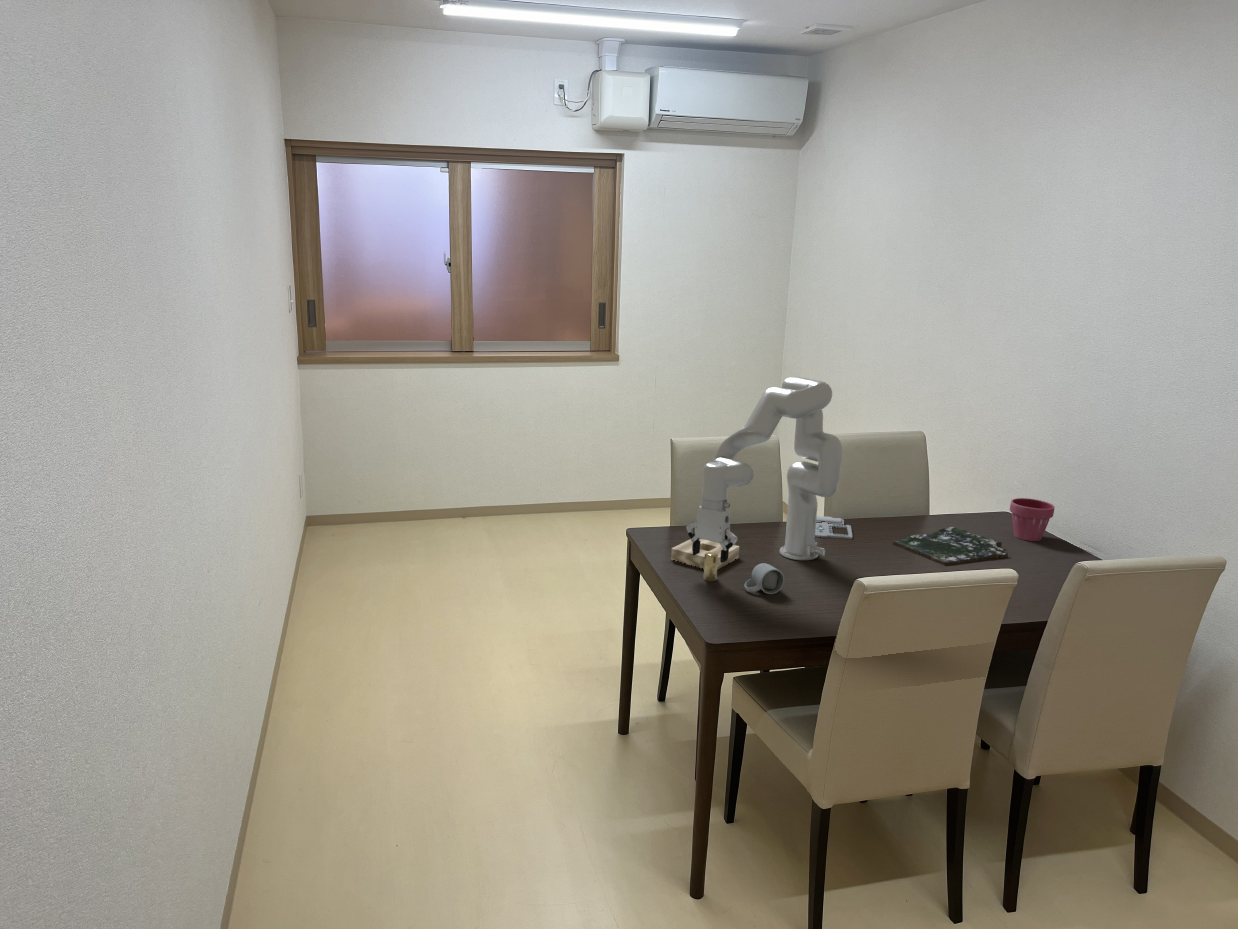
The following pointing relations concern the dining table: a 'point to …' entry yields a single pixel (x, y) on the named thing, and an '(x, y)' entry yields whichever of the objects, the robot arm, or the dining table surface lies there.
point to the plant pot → (1030, 518)
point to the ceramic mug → (765, 579)
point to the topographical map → (952, 546)
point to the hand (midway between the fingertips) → (709, 557)
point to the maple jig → (702, 553)
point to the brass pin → (710, 566)
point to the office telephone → (826, 529)
